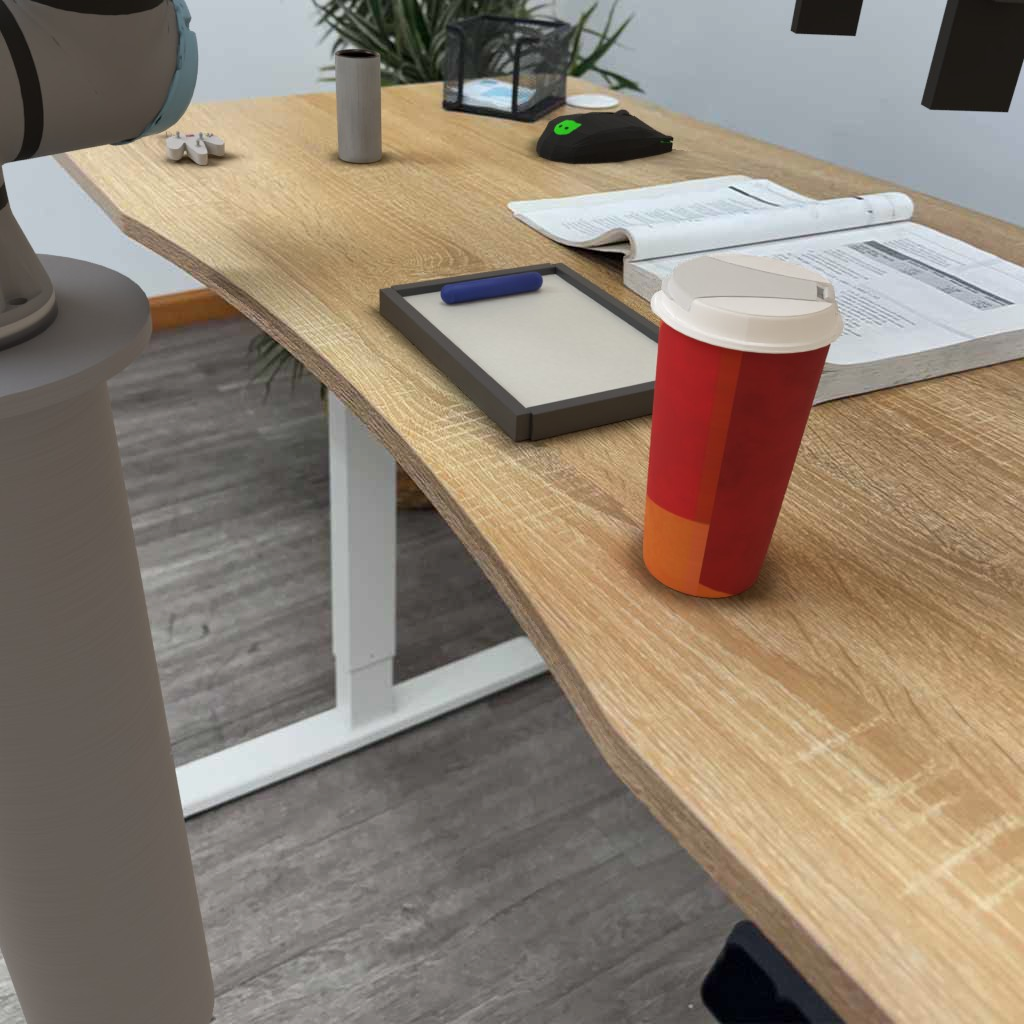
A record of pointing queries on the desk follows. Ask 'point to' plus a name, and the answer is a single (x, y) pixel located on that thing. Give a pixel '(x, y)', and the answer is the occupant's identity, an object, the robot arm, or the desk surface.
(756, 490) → the coffee cup
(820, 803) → the desk surface
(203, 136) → the game controller
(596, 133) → the computer mouse
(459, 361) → the whiteboard
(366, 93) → the grey cylindrical container
